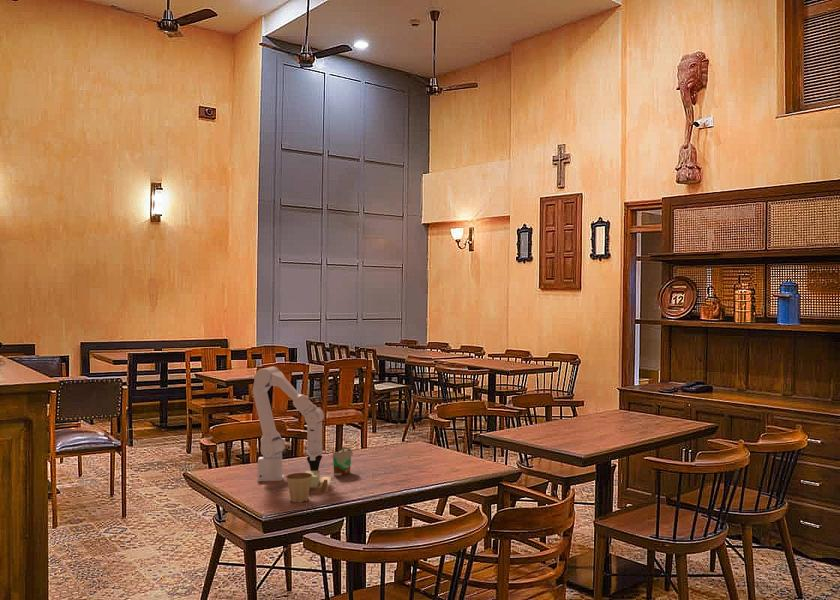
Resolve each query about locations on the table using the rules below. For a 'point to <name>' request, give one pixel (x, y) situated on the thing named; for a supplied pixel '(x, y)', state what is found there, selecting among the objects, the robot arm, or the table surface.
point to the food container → (342, 461)
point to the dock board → (321, 485)
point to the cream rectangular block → (314, 479)
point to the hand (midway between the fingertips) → (314, 475)
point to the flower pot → (299, 486)
